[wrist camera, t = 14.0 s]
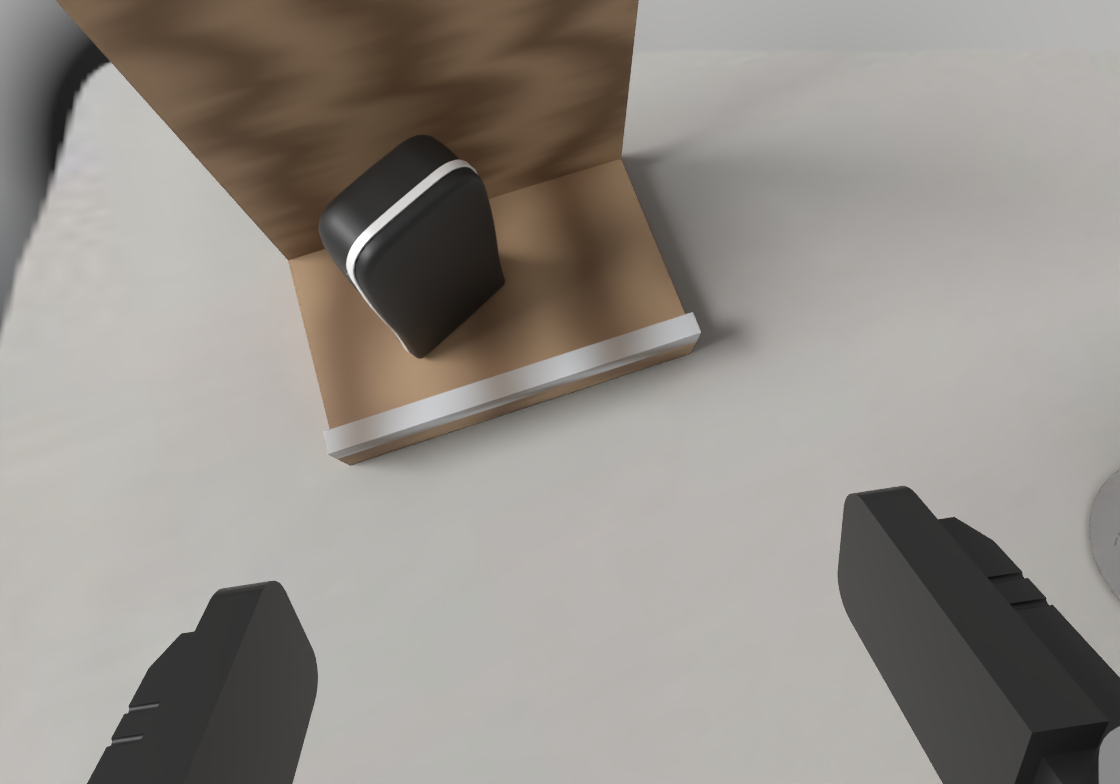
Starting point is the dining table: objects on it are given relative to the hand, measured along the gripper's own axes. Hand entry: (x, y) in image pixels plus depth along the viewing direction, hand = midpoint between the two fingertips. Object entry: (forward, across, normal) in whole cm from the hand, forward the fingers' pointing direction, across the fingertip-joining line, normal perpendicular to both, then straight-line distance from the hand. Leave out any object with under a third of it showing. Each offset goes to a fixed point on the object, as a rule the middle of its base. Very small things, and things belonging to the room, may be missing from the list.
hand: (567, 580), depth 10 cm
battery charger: (+29, +5, +6) cm, 30 cm away
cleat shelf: (+30, +3, +8) cm, 31 cm away
